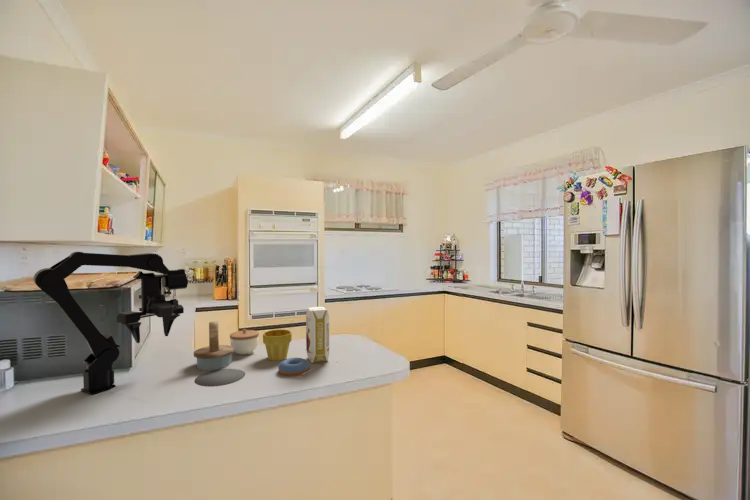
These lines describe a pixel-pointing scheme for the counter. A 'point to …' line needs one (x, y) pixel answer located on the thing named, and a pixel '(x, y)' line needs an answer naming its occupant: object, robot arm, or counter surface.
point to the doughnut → (293, 366)
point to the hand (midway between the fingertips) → (152, 339)
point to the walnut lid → (213, 345)
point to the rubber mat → (219, 377)
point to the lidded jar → (244, 341)
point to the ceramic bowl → (214, 362)
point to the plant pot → (277, 343)
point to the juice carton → (317, 334)
